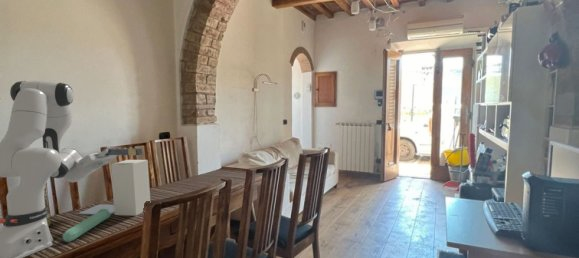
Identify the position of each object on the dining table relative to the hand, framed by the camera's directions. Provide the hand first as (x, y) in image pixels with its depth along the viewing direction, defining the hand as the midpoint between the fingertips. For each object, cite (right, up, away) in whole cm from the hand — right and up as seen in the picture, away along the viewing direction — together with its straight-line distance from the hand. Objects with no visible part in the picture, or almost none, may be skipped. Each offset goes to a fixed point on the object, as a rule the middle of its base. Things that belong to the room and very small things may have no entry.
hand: (111, 149), depth 155 cm
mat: (-6, -32, +4) cm, 33 cm away
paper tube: (-22, -35, -17) cm, 45 cm away
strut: (+6, -2, -1) cm, 7 cm away
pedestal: (+11, -32, +1) cm, 34 cm away
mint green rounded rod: (+2, -35, -22) cm, 41 cm away
